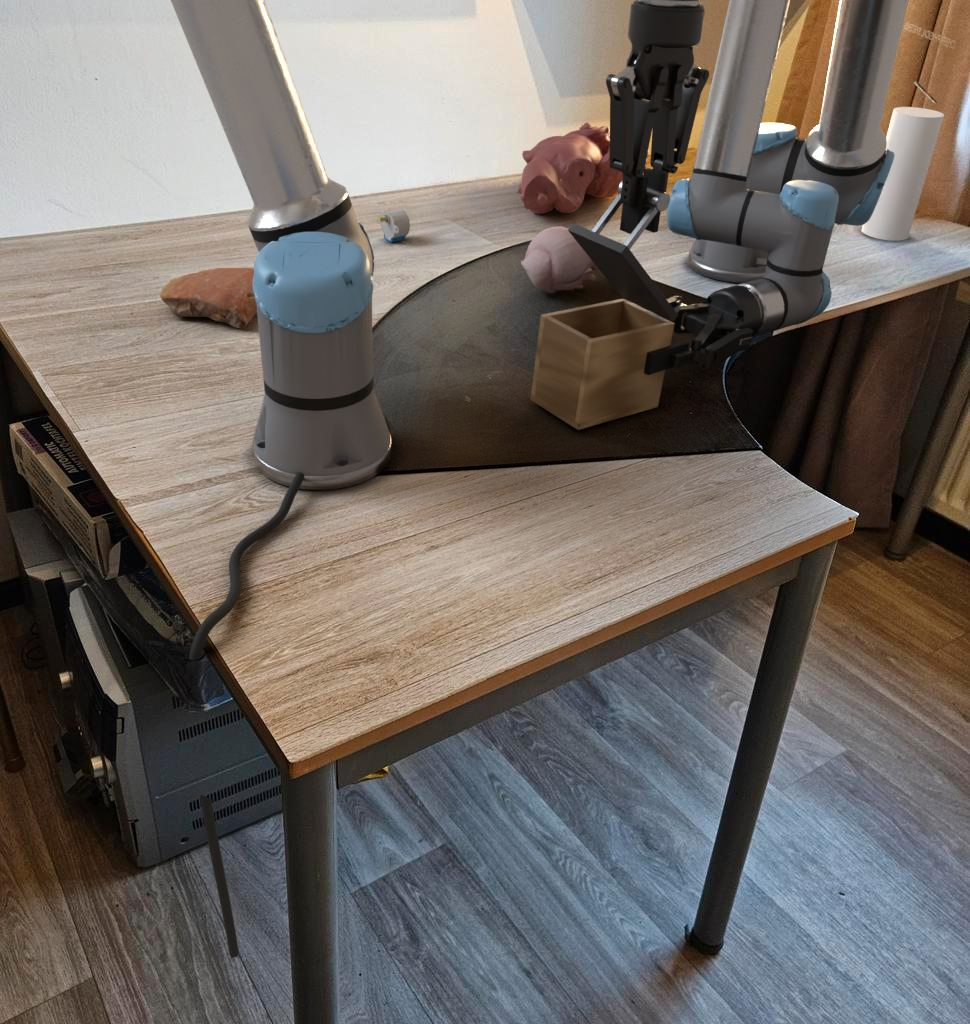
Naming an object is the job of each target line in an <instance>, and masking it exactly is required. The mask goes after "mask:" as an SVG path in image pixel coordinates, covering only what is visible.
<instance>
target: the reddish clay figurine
mask: <svg viewBox="0 0 970 1024" xmlns="http://www.w3.org/2000/svg"><path fill="white" fill-rule="evenodd" d="M521 156H522V158H523V160H524V162H525V163H526V164H525V166H524V168H523V170H522V172H521V173H522V174H521V180H520V181H521V182H520V185H519V186H518V189H517V194H518V195H520V200H521V202H522V203H523V207H524V209H525V210H529V211H530V212H532V213H535V214H546V213H549V212H551V211H552V210H553V209H554V208H555V209H556V210H557V211H559V212H560V213H564V214H569V213H573V212H575V211H578V209H579V208H581V206H582V203H584V199H585V195H591V196H593V197H596V198H599V197H604V198H606V197H608V198H610V197H613V196H614V195H617V194H618V187H619V185H620V183H621V182H622V181H623V174H622V172H621V171H619V170H616V169H613V168H611V167H610V126H609V127H608V126H607V125H605V126H604V125H602V126H600V127H598V126H592V125H591V124H590V123H589V122H585V123H584V124H581V126H580V127H579V129H576V130H573V131H570V132H568V133H566V134H565V135H554V136H549V137H546V138H544V139H542V140H540V141H539V142H538V143H536V145H535V146H534V147H532V148H531V149H529V150H523V151H522V153H521ZM648 157H649V152H648V153H647V158H646V163H645V168H644V169H647V164H648V161H647V160H648ZM633 163H634V162H633Z"/></svg>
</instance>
